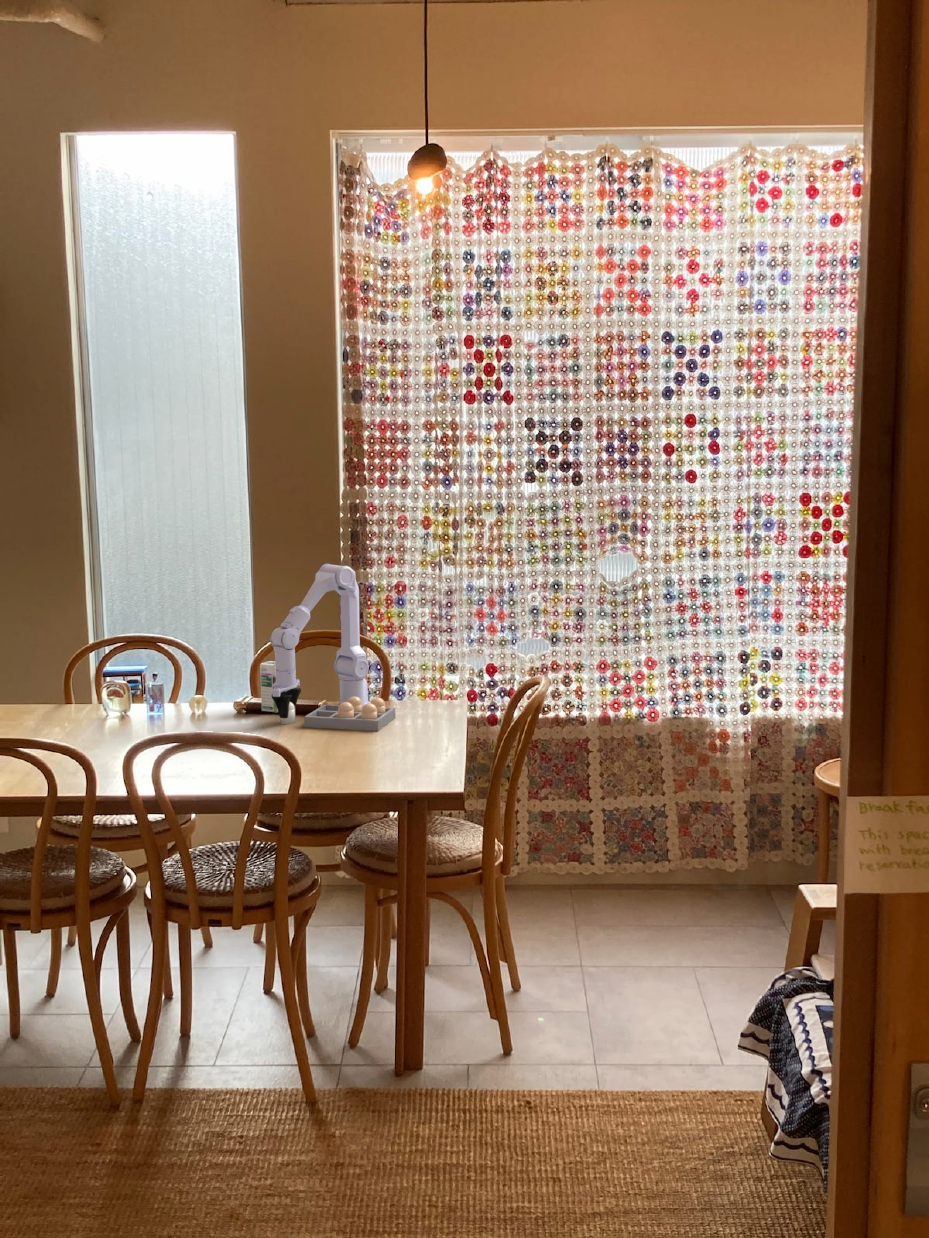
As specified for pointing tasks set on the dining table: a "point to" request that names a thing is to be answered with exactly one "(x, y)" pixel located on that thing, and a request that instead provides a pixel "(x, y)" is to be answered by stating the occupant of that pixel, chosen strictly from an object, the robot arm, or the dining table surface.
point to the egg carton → (352, 715)
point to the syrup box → (268, 685)
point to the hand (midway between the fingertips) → (287, 715)
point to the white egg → (289, 715)
